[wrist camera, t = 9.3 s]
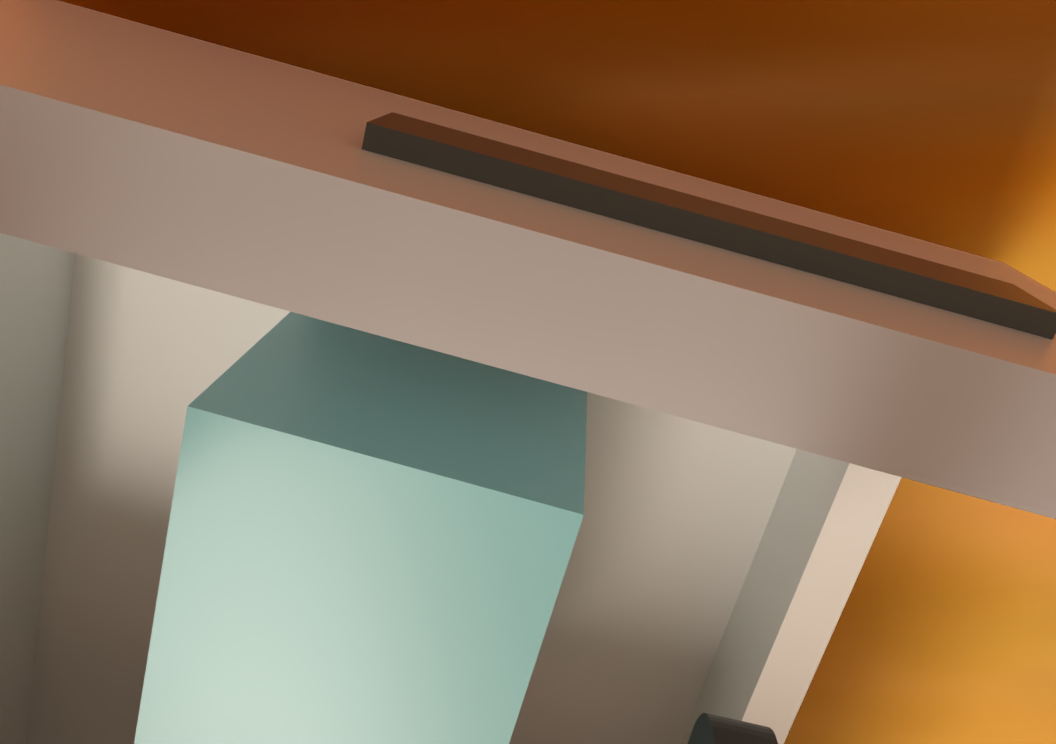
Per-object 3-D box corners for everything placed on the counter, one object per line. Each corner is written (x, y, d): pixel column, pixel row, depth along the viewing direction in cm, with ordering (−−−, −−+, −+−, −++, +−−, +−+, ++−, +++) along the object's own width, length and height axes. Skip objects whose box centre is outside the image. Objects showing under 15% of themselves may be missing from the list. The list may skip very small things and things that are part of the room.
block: (305, 298, 16) (187, 405, 12) (587, 376, 17) (584, 514, 12) (247, 590, 18) (127, 782, 14) (499, 658, 19) (467, 872, 14)
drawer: (-13, -39, 16) (-544, -99, 9) (1010, 245, 17) (1353, 424, 9) (-60, 723, 22) (-409, 1091, 14) (709, 922, 22) (767, 1382, 15)
